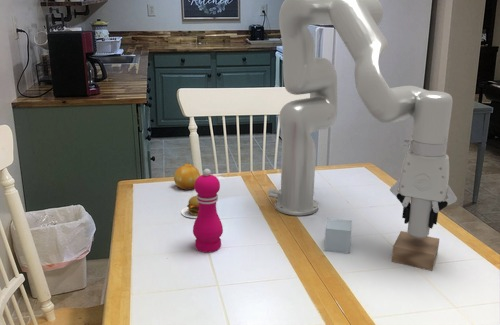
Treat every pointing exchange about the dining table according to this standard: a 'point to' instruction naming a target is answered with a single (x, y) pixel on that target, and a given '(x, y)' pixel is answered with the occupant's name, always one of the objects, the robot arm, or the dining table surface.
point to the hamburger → (192, 207)
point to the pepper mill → (207, 214)
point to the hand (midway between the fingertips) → (419, 223)
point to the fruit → (186, 176)
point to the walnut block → (415, 251)
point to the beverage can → (419, 217)
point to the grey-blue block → (338, 235)
